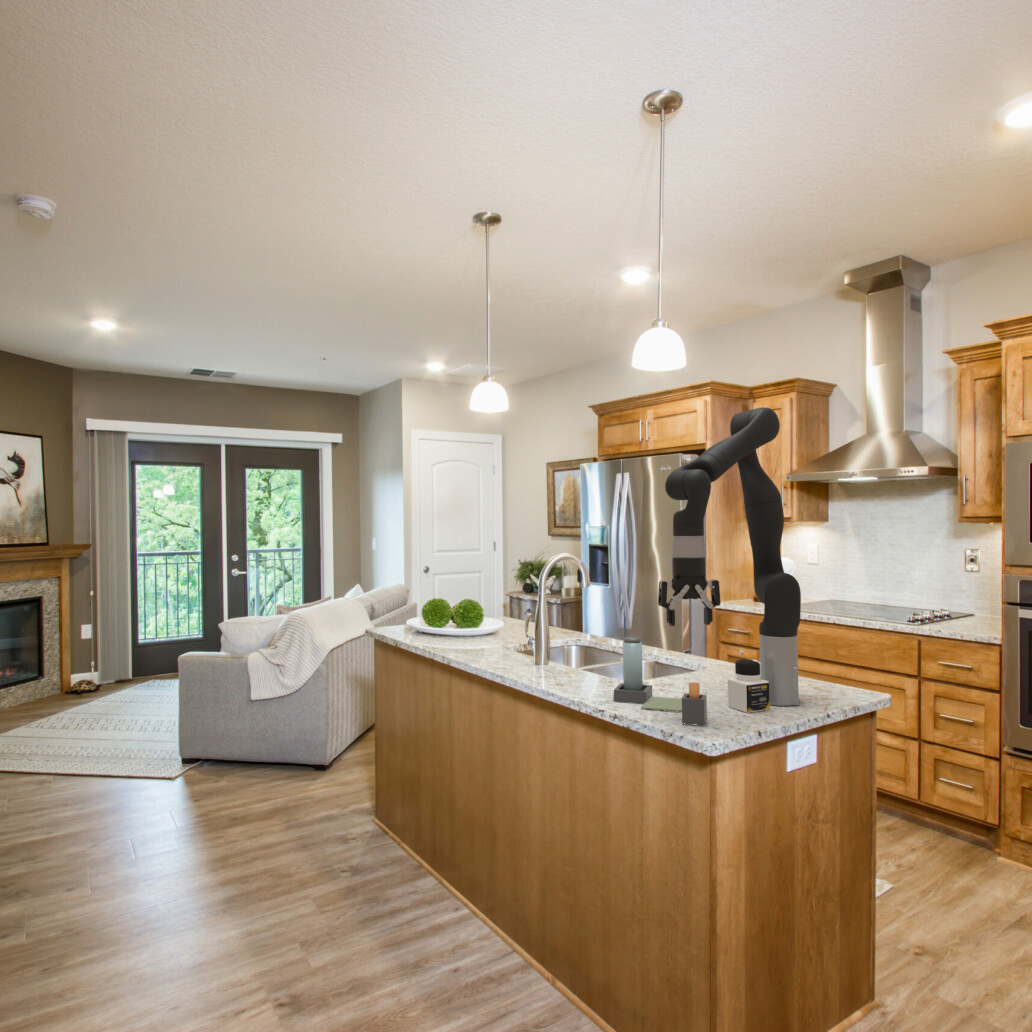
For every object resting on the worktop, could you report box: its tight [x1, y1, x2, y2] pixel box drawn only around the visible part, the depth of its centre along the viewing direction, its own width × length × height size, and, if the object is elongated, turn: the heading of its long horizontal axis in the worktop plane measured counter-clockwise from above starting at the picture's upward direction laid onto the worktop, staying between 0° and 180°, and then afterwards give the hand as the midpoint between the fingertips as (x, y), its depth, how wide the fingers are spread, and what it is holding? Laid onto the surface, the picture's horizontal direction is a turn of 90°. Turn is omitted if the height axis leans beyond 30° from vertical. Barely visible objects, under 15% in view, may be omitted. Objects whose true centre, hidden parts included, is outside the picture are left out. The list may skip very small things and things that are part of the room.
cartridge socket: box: [613, 682, 653, 704], centre depth 192 cm, size 8×8×3 cm
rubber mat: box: [640, 696, 682, 713], centre depth 185 cm, size 12×12×1 cm
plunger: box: [688, 681, 701, 699], centre depth 169 cm, size 2×2×6 cm
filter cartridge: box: [622, 636, 644, 691], centre depth 192 cm, size 5×5×16 cm
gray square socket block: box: [681, 693, 708, 726], centre depth 169 cm, size 5×5×6 cm
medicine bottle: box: [727, 658, 771, 714], centre depth 181 cm, size 7×7×12 cm
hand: (689, 625), depth 170 cm, fingers open, 8 cm apart
